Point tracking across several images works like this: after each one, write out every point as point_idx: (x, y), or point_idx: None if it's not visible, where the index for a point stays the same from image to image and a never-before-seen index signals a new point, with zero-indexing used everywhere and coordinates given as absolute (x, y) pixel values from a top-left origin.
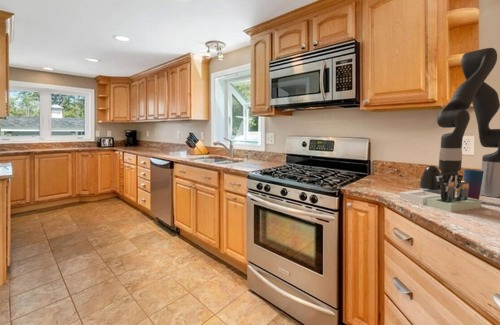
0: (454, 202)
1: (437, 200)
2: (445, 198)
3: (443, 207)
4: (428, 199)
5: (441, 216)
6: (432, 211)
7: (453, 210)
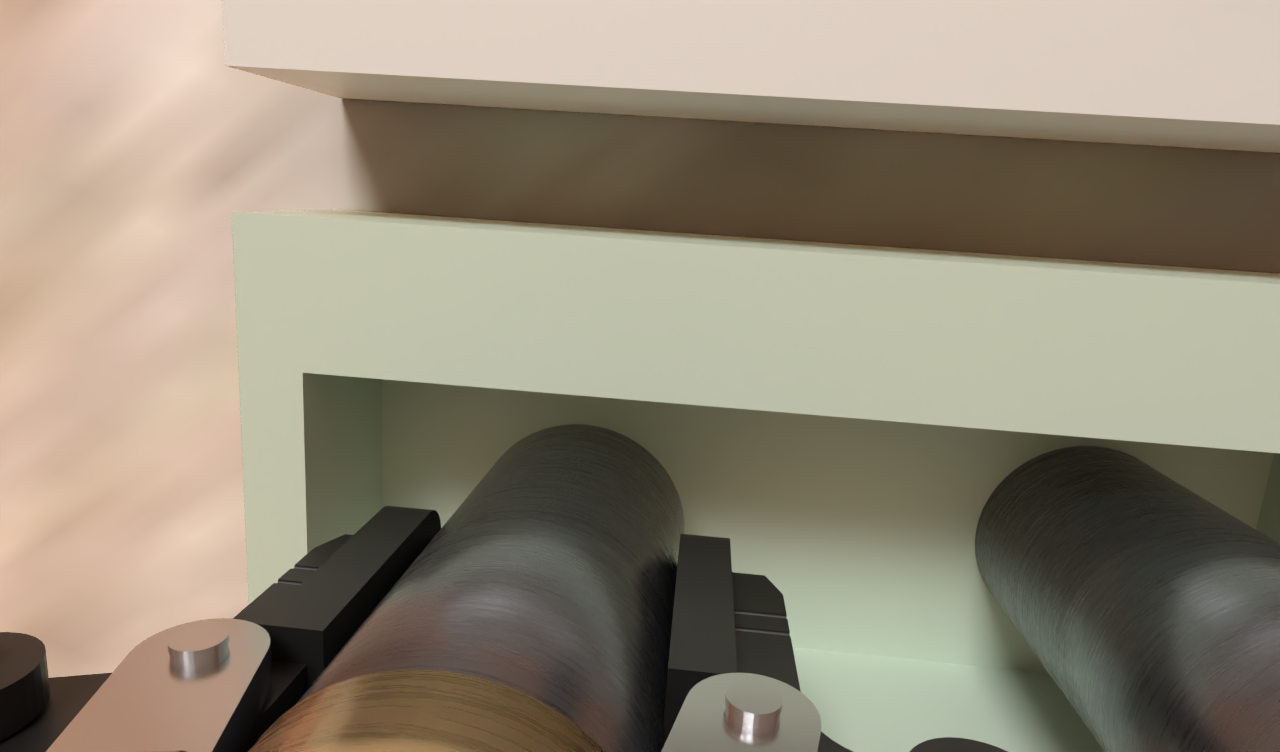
0: None
1: (438, 376)
2: None
3: None
4: (241, 243)
5: None
6: (163, 465)
7: None
